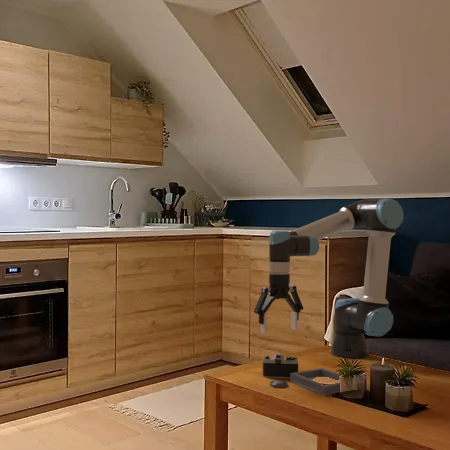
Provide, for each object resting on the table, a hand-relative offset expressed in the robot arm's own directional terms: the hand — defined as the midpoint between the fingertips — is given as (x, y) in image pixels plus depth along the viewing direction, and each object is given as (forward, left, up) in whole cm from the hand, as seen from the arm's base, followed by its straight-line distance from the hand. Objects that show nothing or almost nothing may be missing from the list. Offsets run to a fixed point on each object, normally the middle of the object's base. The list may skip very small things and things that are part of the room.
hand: (278, 331), depth 222 cm
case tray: (-5, +19, -16) cm, 25 cm away
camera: (0, +1, -16) cm, 16 cm away
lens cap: (+8, +11, -16) cm, 21 cm away
